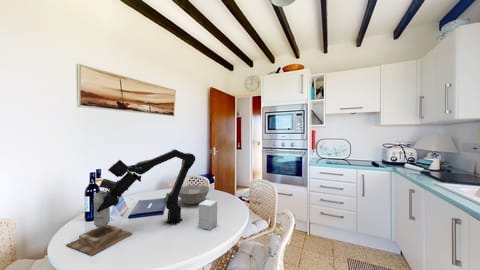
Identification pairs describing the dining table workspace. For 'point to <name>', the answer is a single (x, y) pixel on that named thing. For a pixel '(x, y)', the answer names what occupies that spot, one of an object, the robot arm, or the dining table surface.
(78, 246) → the socket board
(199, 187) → the ceramic bowl
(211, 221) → the supplement box
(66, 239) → the dining table surface
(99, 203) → the energy drink can
